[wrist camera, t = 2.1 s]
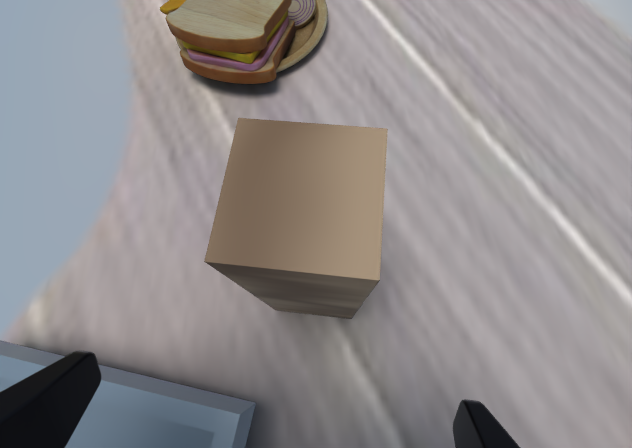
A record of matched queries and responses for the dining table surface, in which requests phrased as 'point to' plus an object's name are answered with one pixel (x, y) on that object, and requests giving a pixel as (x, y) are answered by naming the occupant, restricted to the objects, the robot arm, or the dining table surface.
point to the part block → (302, 215)
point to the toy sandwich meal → (244, 35)
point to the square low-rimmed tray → (141, 408)
